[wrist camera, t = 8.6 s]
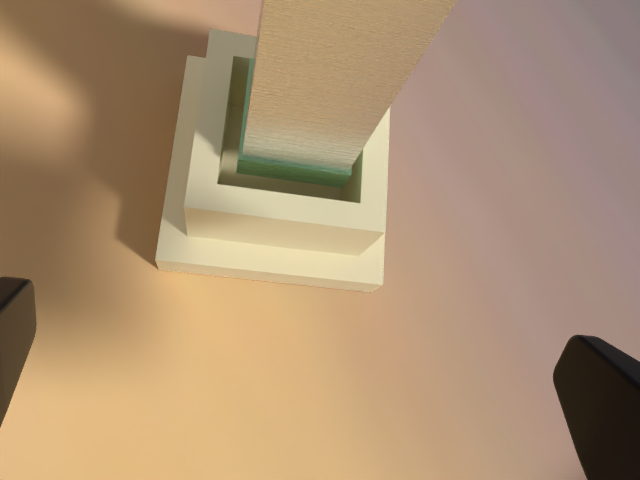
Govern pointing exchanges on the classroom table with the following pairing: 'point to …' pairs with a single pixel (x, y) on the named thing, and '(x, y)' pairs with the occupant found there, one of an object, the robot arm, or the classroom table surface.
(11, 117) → the classroom table surface
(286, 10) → the block
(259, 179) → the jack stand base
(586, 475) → the robot arm
